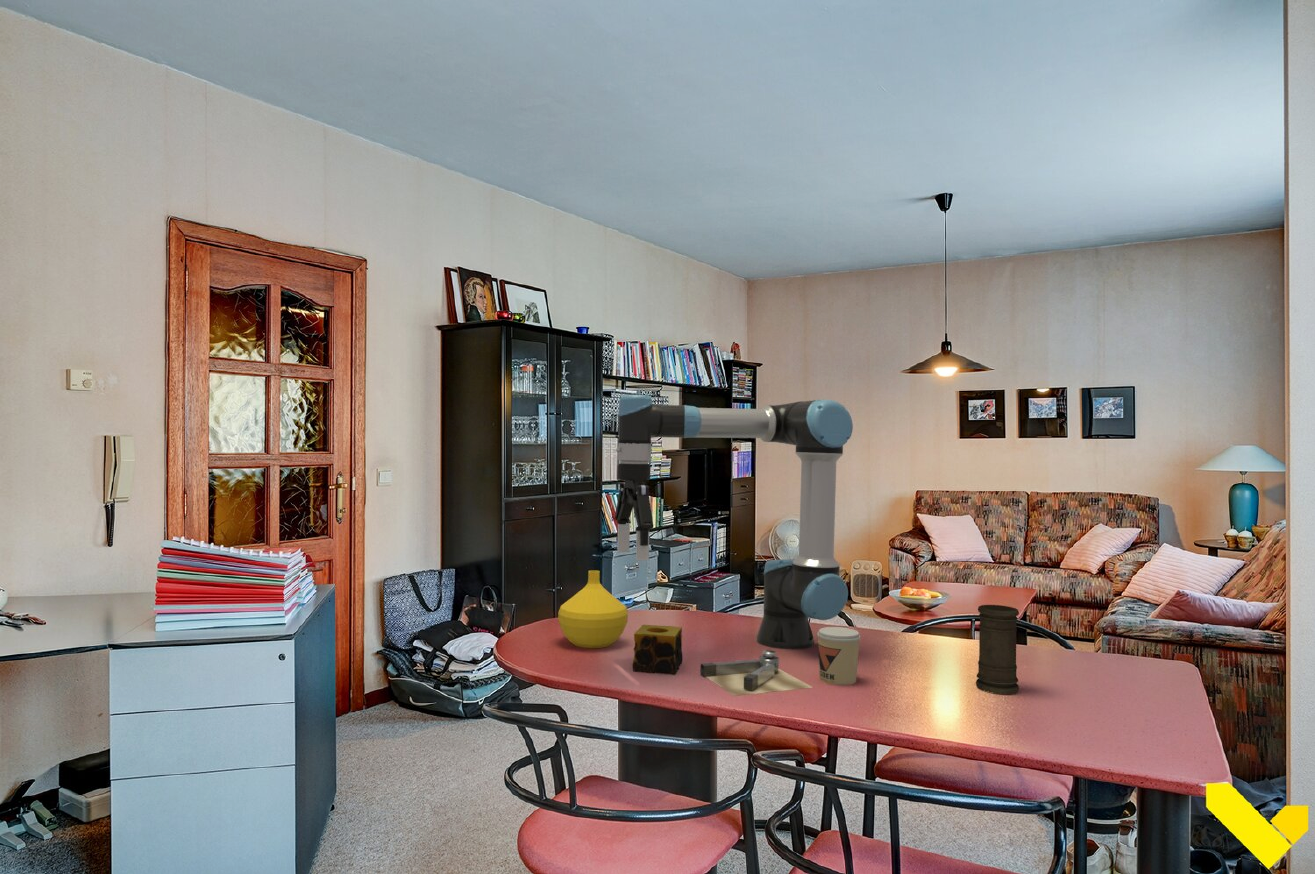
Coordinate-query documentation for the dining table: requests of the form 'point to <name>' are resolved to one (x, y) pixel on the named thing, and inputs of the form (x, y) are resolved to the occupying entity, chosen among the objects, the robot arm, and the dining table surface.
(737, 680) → the board
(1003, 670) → the container
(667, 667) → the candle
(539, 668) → the dining table surface
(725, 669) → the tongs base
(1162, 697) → the dining table surface
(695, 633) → the dining table surface
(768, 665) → the bar
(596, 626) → the vase
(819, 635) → the coffee cup
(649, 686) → the dining table surface
